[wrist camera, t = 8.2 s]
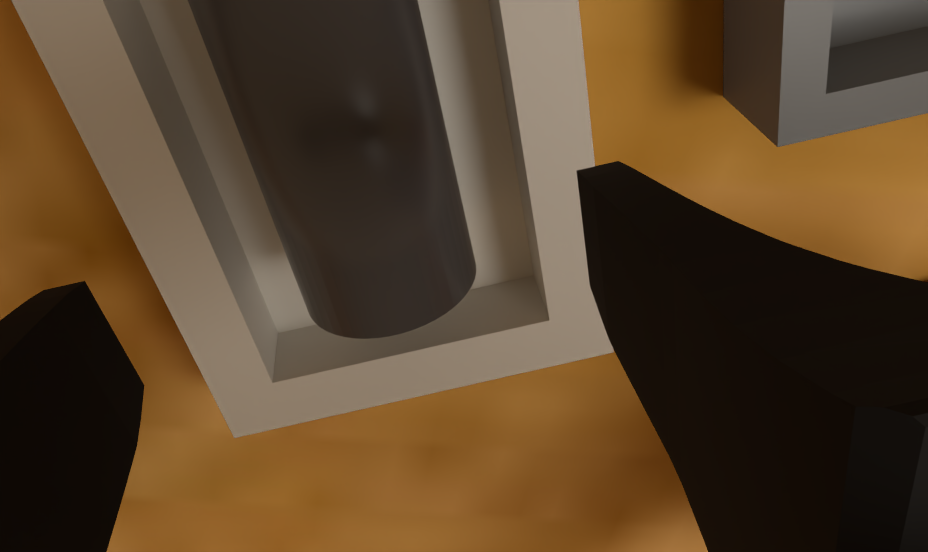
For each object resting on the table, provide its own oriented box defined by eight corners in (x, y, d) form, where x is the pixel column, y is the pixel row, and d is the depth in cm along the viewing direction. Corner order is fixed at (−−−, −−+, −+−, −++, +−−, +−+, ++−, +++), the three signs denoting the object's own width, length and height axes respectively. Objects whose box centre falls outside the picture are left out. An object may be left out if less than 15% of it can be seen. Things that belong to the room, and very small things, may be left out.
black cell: (470, 220, 20) (482, 318, 16) (315, 251, 20) (297, 353, 17) (386, -164, 15) (380, -135, 11) (183, -118, 15) (119, -76, 12)
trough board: (587, 303, 23) (615, 366, 20) (251, 379, 23) (241, 451, 20) (501, -414, 14) (533, -447, 11) (-57, -287, 14) (-139, -293, 11)
